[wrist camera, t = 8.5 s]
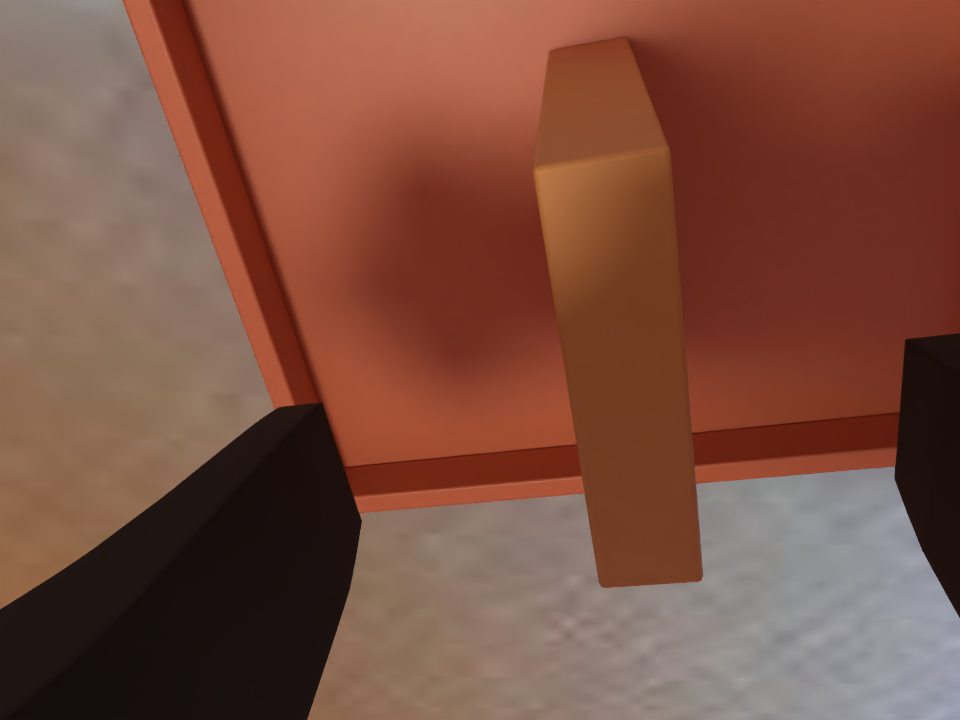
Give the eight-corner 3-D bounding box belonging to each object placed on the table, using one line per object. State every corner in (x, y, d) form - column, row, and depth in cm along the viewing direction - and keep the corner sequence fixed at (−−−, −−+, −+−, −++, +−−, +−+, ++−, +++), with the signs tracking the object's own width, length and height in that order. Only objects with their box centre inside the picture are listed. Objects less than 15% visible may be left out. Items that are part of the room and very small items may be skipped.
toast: (627, 35, 14) (670, 145, 8) (656, 336, 17) (703, 583, 11) (547, 50, 14) (531, 167, 8) (589, 344, 17) (600, 590, 11)
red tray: (1071, -268, 12) (1144, -290, 10) (982, 407, 18) (1021, 456, 16) (151, -58, 15) (101, -51, 13) (333, 470, 20) (314, 518, 19)
